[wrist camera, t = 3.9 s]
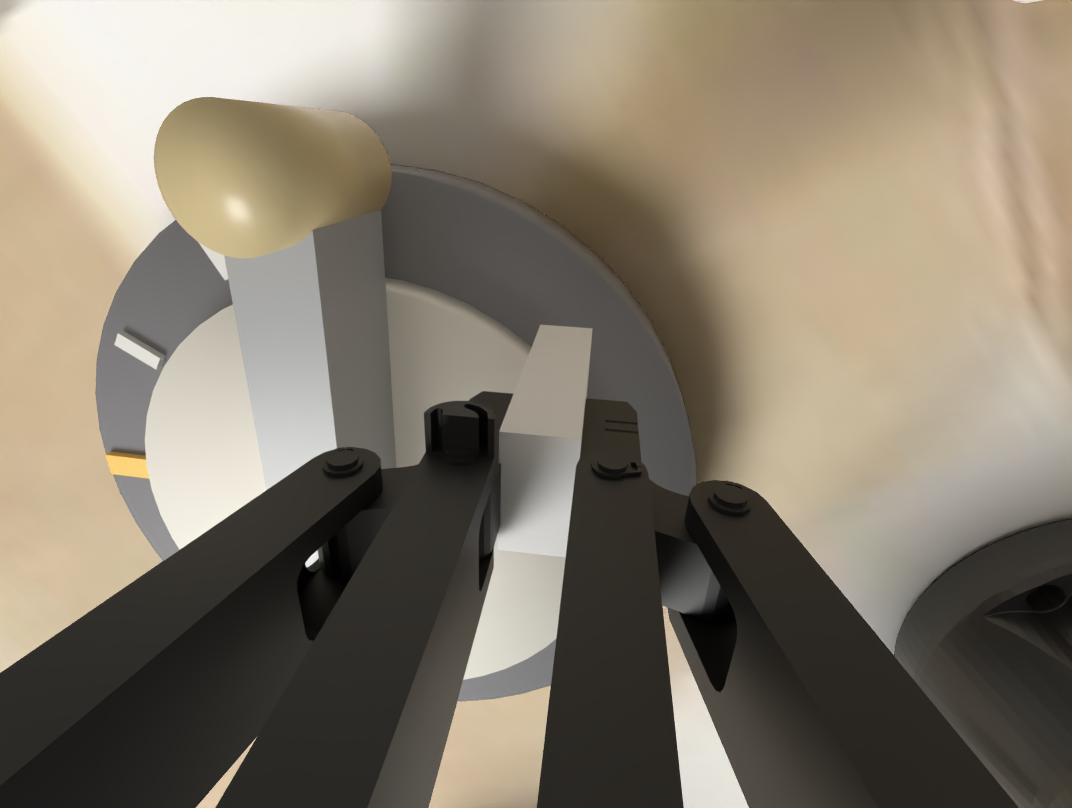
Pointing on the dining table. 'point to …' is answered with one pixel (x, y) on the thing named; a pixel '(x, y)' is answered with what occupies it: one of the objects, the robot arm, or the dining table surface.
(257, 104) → the dial
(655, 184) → the dining table surface
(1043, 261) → the dining table surface
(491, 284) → the dial base
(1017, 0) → the decorative candle
